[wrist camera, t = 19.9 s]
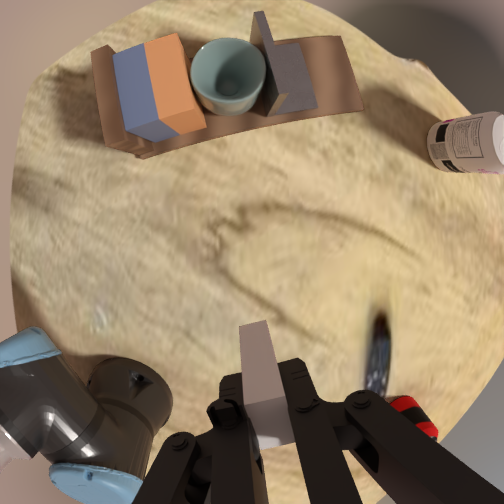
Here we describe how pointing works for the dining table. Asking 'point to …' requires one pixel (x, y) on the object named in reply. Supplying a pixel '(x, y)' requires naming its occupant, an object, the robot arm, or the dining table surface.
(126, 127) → the book navy
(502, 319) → the dining table surface
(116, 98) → the shelf
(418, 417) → the soda can
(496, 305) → the dining table surface
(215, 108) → the cup
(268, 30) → the bookend
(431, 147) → the supplement can
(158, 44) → the book terracotta
